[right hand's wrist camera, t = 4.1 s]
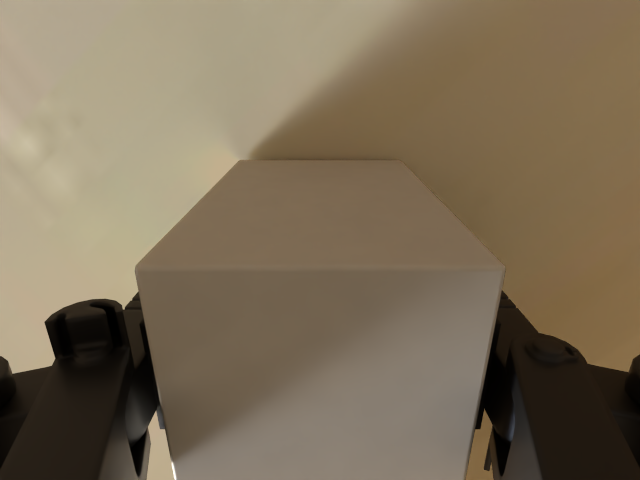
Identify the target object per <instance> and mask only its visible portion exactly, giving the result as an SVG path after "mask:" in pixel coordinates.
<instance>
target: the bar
mask: <svg viewBox="0 0 640 480" xmlns="http://www.w3.org/2000/svg"><path fill="white" fill-rule="evenodd" d="M135 275H136V280H137V285H138V290H139V296H140V301H141V306H142V311H143V316H144V322H145V327H146V332H147V337H148V342H149V348H150V353H151V358H152V363H153V368H154V374H155V379H156V384H157V389H158V395H159V400H160V405H161V410H162V415H163V421H164V426H165V431H166V436H167V441H168V447H169V452H170V457H171V462H172V467H173V473H174V478H175V480H465V478H466V473H467V468H468V463H469V458H470V452H471V447H472V442H473V437H474V432H475V426H476V421H477V416H478V411H479V406H480V400H481V395H482V390H483V385H484V380H485V375H486V369H487V364H488V359H489V354H490V349H491V343H492V338H493V333H494V328H495V323H496V317H497V312H498V307H499V302H500V297H501V292H502V286H503V281H504V276H505V266H504V265H503V264H502V263H501V262H500V261H499V260H498V259H497V257H496V256H495V255H494V254H493V253H492V252H491V251H490V250H489V249H488V248H487V247H486V246H485V245H484V244H483V243H482V242H481V241H480V240H479V239H478V238H477V237H476V236H475V235H474V234H473V233H472V232H471V231H470V230H469V229H468V228H467V227H466V226H465V225H464V224H463V223H462V222H461V221H460V220H459V219H458V218H457V217H456V216H455V215H454V214H453V213H452V212H451V211H450V210H449V209H448V208H447V207H446V206H445V205H444V204H443V203H442V202H441V201H440V200H439V199H438V198H437V197H436V196H435V195H434V194H433V193H432V192H431V191H430V190H429V188H428V187H427V186H426V185H425V184H424V183H423V182H422V181H421V180H420V179H419V178H418V177H417V176H416V175H415V174H414V173H413V172H412V171H411V170H410V169H409V168H408V167H407V166H406V165H405V164H404V163H403V162H402V161H400V160H240V161H238V162H237V163H236V164H235V165H234V166H233V167H232V168H231V169H230V170H229V171H228V172H227V173H226V174H225V175H224V176H223V177H222V178H221V179H220V180H219V182H218V183H217V184H216V185H215V186H214V187H213V188H212V189H211V190H210V191H209V192H208V193H207V194H206V195H205V196H204V197H203V198H202V199H201V200H200V201H199V202H198V203H197V204H196V205H195V206H194V207H193V208H192V209H191V210H190V211H189V212H188V213H187V214H186V215H185V216H184V217H183V218H182V219H181V220H180V221H179V222H178V223H177V224H176V225H175V226H174V227H173V228H172V229H171V230H170V231H169V232H168V233H167V234H166V235H165V236H164V237H163V238H162V239H161V240H160V241H159V242H158V243H157V244H156V245H155V246H154V247H153V248H152V250H151V251H150V252H149V253H148V254H147V255H146V256H145V257H144V258H143V259H142V260H141V261H140V262H139V263H138V264H137V265H136V267H135Z"/></svg>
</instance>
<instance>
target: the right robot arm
mask: <svg viewBox="0 0 640 480" xmlns="http://www.w3.org/2000/svg"><path fill="white" fill-rule="evenodd" d="M45 325H46V329H47V332H48V335H49V339H50V342H51V345H52V348H53V352H54V355H55V358H56V359H55V361H54V363H53V365H52V366H49V367H45V368H40V369H35V370H30V371H25V372H20V373H15V374H12V371H11V369H10V366H9V363H8V361H7V360H6V359H4V358H3V357H2V356H0V480H146V479H147V471H148V463H149V454H150V446H151V442H150V435H149V431H148V425H149V423H150V421H151V419H152V417H153V415H154V413H155V411H157V416H158V421H159V426H160V429H165V426H164V421H163V415H162V410H161V405H160V400H159V395H158V389H157V384H156V379H155V374H154V368H153V363H152V358H151V353H150V348H149V342H148V337H147V332H146V327H145V322H144V316H143V311H142V306H141V301H140V296H139V291H138V293H137V294H136V295H135V296H134V297H133V299H132V301H130V302H129V303H128V304H127V306H126V307H125V310H123V309H122V305H121V304H119V303H118V302H117V301H114V300H109V299H92V300H87V301H82V302H78V303H75V304H72V305H69V306H67V307H64V308H62V309H60V310H59V311H57V312H55V313H54V314H52V315H51V316H50V317H49V318H48V319H47V320H46V321H45ZM484 408H485V410H486V412H487V415H488V417H489V419H490V421H491V423H492V425H493V426H492V431H491V435H490V440H489V445H488V449H487V454H486V459H485V464H484V470H487V471H489V470H490V465H491V462H492V470H493V478H494V480H640V355H638V356H637V357H636V358H634V359H633V361H632V364H631V367H630V370H629V372H625V371H619V370H614V369H609V368H604V367H599V366H594V365H590V364H587V362H586V360H585V358H584V357H583V356H582V354H581V353H580V352H579V351H578V350H577V349H576V348H574V347H573V346H572V345H570V344H569V343H567V342H565V341H563V340H560V339H558V338H556V337H554V336H550V335H545V334H541V333H538V331H537V330H536V329H535V328H534V327H533V326H532V324H531V323H530V322H529V321H528V320H527V319H526V317H525V316H524V315H523V314H522V313H521V312H520V310H519V309H518V308H516V306H515V305H514V303H513V302H512V301H511V300H510V299H508V296H507V295H506V294H505V293H504V292H503V291H502V292H501V297H500V302H499V307H498V312H497V317H496V323H495V328H494V333H493V338H492V343H491V349H490V354H489V359H488V364H487V369H486V375H485V380H484V385H483V390H482V395H481V400H480V406H479V411H478V416H477V421H476V426H475V429H480V428H481V423H482V418H483V413H484Z"/></svg>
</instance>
